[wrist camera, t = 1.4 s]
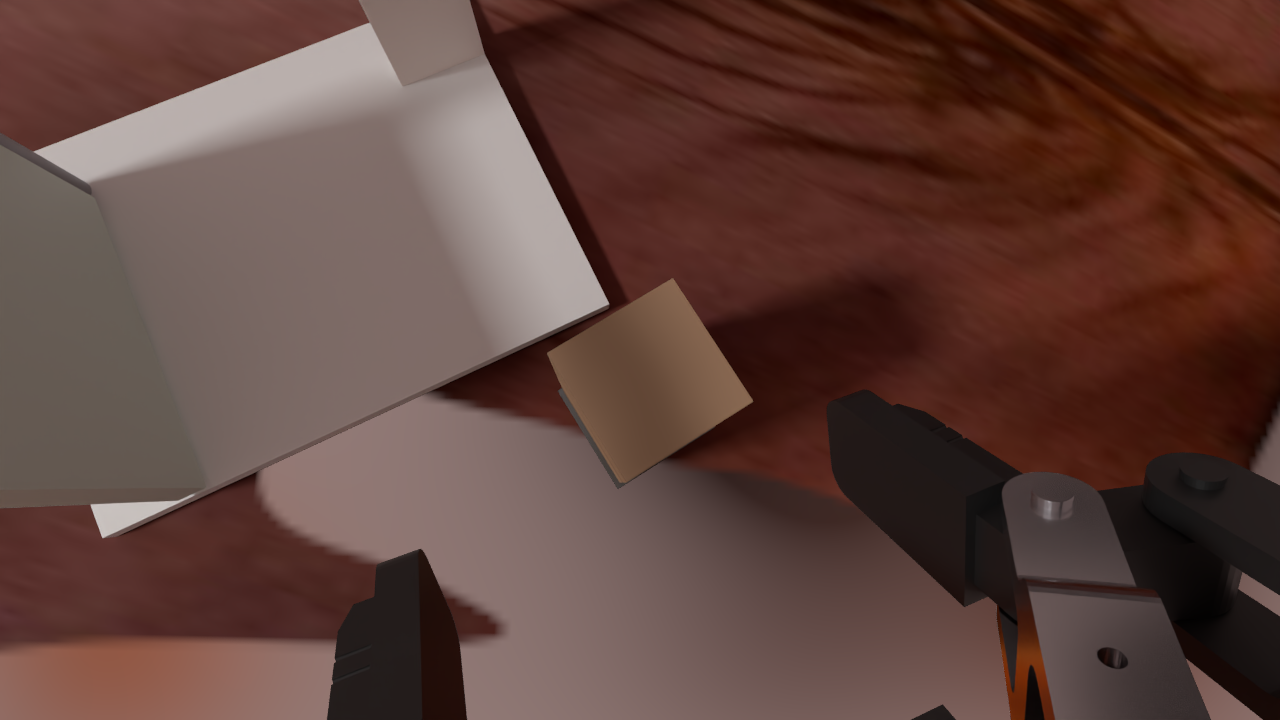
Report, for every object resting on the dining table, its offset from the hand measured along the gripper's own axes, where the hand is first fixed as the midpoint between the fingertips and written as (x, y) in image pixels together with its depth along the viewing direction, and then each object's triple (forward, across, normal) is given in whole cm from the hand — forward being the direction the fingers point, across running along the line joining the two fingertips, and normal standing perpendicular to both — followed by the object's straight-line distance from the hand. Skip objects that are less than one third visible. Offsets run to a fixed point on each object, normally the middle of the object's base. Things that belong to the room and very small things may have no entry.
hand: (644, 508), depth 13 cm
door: (+22, +17, -1) cm, 28 cm away
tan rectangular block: (+16, -3, +7) cm, 18 cm away
